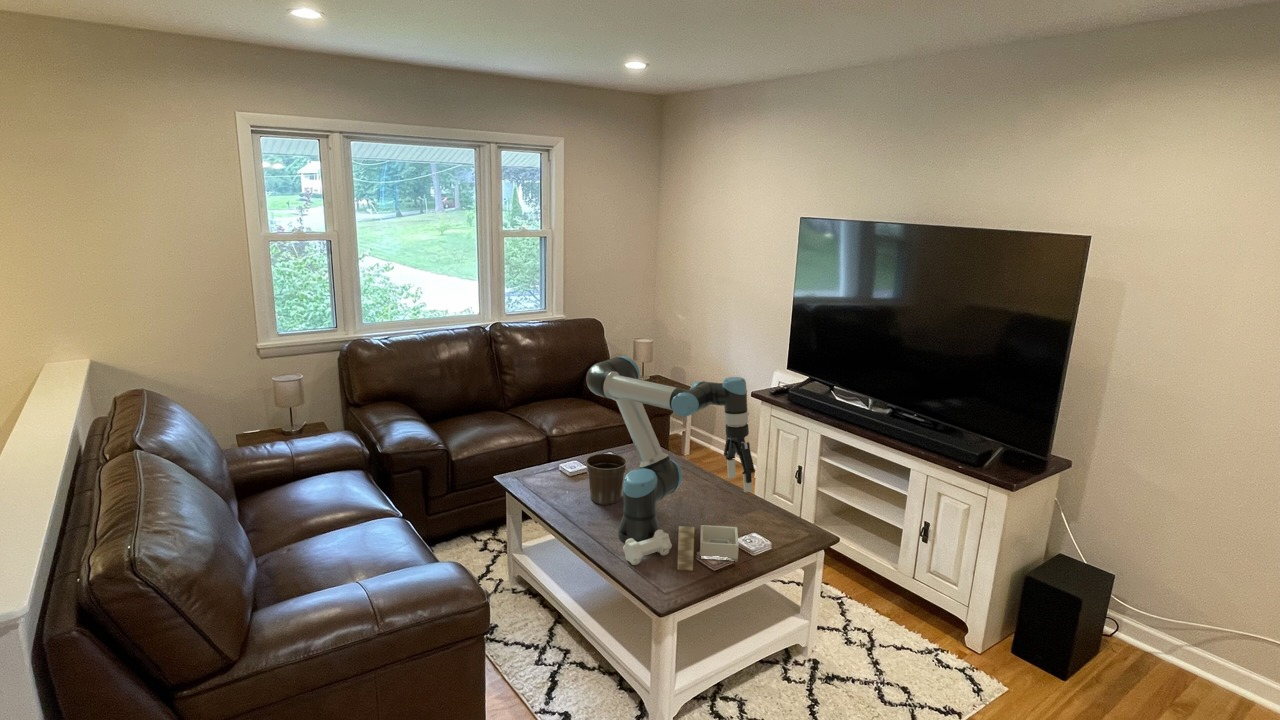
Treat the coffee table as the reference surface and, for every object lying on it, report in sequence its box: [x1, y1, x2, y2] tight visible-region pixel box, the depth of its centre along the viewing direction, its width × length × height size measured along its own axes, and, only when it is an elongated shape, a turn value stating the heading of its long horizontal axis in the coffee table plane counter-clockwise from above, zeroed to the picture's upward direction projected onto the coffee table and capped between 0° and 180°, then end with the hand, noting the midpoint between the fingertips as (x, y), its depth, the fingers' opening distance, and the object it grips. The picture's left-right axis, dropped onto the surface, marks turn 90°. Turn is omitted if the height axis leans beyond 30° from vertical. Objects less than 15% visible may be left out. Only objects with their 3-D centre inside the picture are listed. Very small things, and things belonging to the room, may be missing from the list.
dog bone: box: [622, 528, 673, 566], centre depth 224 cm, size 15×9×8 cm, turn 123°
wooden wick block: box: [676, 525, 695, 571], centre depth 218 cm, size 5×3×14 cm, turn 84°
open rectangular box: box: [699, 524, 740, 563], centre depth 229 cm, size 13×13×6 cm
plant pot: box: [585, 452, 628, 506], centre depth 266 cm, size 16×16×16 cm
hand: (739, 484), depth 226 cm, fingers open, 13 cm apart
